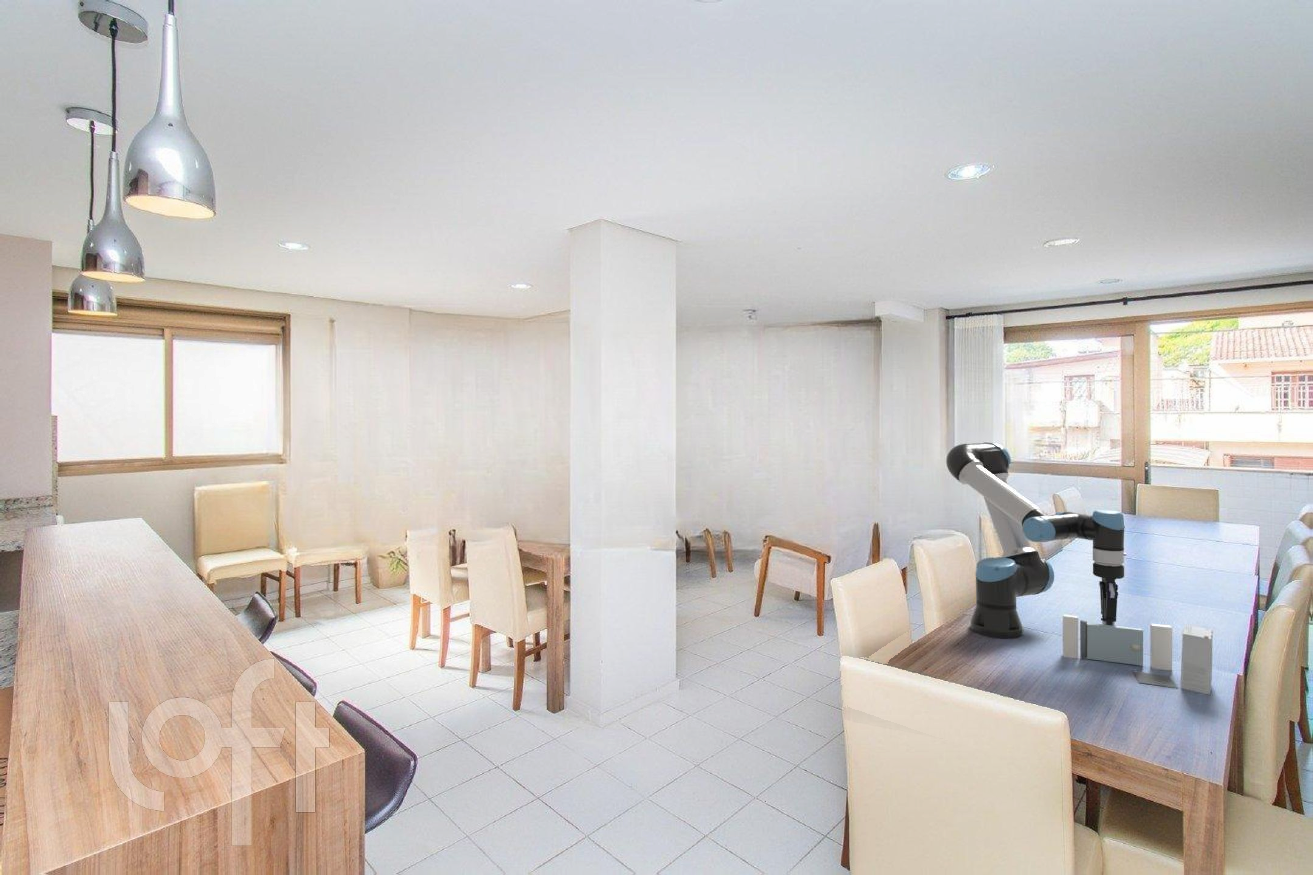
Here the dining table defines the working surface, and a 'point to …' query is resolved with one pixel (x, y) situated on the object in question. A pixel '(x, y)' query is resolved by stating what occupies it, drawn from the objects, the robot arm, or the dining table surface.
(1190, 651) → the skincare box
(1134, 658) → the door
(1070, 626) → the wall
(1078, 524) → the robot arm
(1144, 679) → the mat
